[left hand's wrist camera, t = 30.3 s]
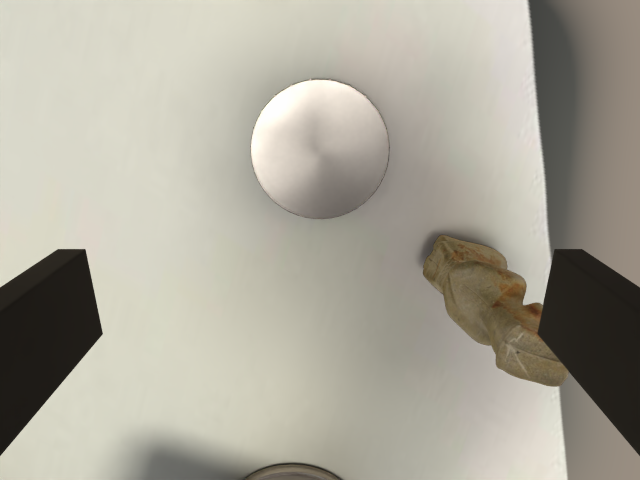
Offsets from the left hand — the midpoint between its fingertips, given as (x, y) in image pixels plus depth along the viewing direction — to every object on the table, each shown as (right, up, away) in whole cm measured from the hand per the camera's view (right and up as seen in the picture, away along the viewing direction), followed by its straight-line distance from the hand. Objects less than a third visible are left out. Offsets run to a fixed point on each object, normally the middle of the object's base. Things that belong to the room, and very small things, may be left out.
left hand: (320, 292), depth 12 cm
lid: (0, +9, +23) cm, 24 cm away
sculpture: (+13, 0, +28) cm, 30 cm away
